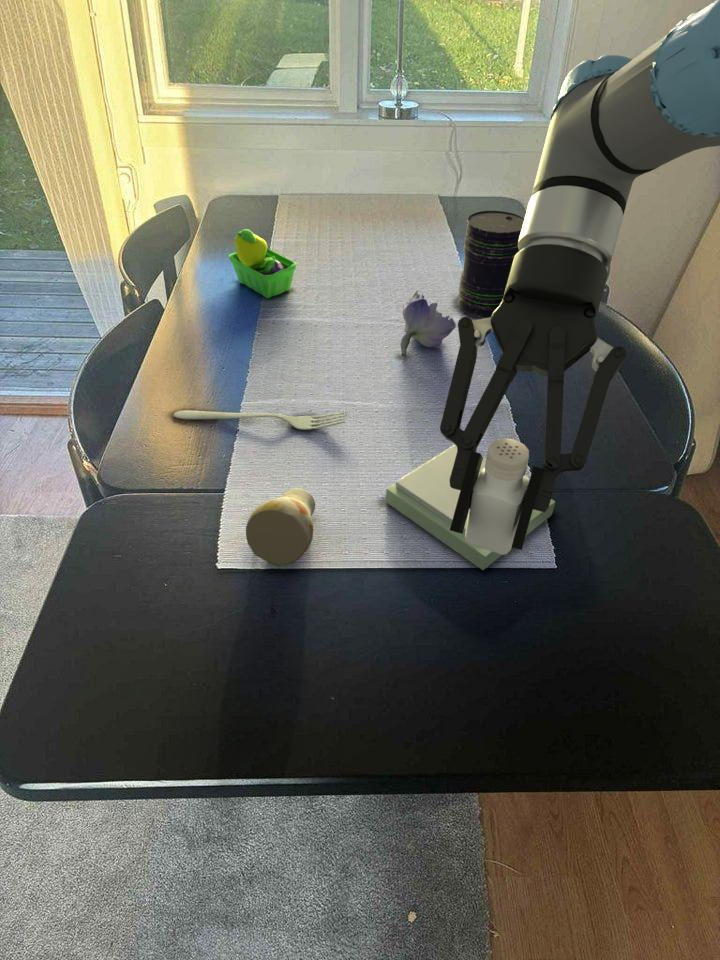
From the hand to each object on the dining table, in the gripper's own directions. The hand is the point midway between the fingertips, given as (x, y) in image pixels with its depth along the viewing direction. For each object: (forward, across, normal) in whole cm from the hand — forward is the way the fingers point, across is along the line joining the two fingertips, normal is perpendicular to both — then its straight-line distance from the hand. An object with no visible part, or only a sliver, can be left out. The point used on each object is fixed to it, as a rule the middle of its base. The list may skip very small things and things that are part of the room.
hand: (486, 539), depth 56 cm
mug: (+6, +23, -19) cm, 31 cm away
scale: (-3, +5, -28) cm, 28 cm away
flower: (-27, +22, -52) cm, 63 cm away
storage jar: (-40, +16, -65) cm, 78 cm away
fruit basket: (-34, +55, -59) cm, 87 cm away
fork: (-7, +36, -32) cm, 49 cm away
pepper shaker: (0, 0, -5) cm, 5 cm away
